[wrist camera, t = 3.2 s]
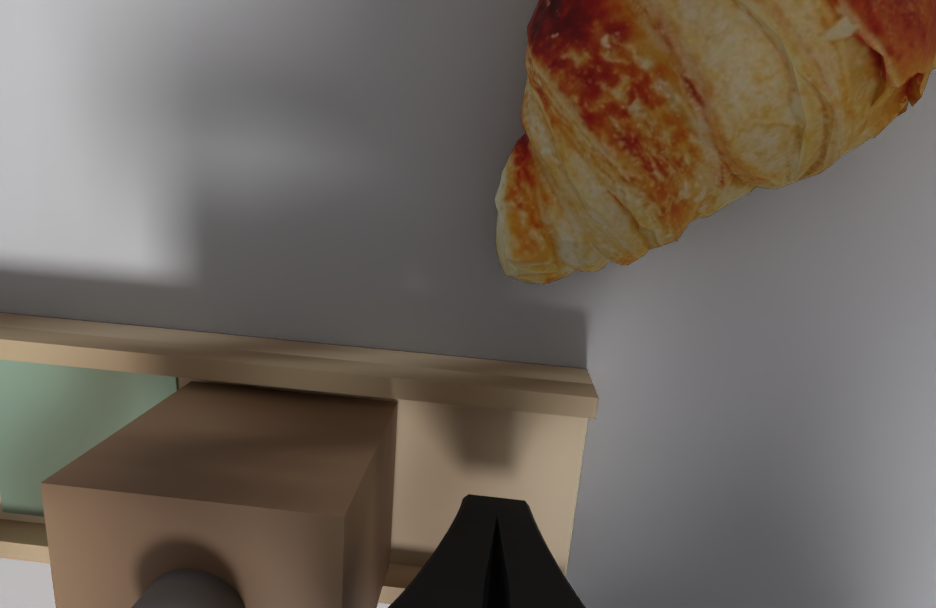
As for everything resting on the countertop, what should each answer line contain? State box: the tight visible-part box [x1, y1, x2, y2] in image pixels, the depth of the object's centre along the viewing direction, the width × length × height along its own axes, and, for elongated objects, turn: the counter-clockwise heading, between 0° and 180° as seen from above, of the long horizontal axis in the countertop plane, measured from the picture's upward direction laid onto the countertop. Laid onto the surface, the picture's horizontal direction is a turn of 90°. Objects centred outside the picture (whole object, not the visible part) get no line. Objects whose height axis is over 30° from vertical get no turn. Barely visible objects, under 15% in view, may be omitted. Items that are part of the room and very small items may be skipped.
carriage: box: [40, 381, 398, 608], centre depth 11 cm, size 5×4×5 cm
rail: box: [0, 313, 599, 604], centre depth 13 cm, size 18×6×5 cm, turn 86°
